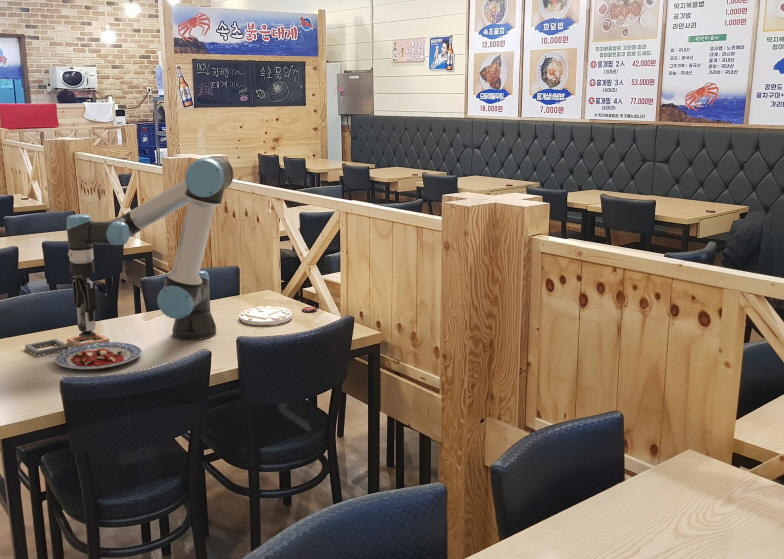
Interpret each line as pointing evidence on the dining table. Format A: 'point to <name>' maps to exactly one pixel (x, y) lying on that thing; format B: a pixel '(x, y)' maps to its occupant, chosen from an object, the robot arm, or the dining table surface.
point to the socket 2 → (75, 339)
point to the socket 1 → (50, 350)
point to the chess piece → (84, 323)
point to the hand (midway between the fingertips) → (86, 327)
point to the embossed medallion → (265, 315)
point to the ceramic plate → (98, 355)
